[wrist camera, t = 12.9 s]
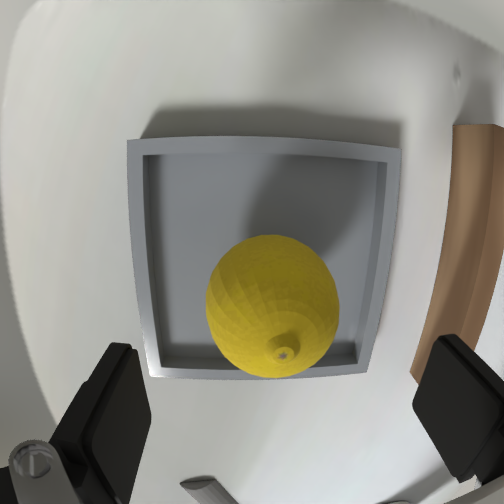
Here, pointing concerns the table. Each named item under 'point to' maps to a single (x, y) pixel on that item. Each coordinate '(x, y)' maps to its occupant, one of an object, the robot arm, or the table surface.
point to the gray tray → (255, 224)
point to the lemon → (272, 306)
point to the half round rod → (208, 492)
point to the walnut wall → (468, 240)
